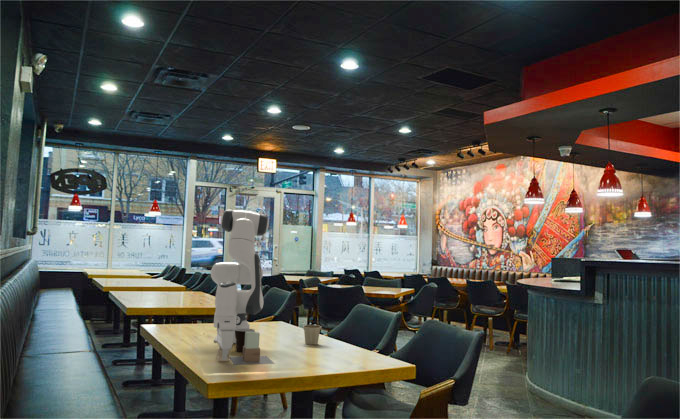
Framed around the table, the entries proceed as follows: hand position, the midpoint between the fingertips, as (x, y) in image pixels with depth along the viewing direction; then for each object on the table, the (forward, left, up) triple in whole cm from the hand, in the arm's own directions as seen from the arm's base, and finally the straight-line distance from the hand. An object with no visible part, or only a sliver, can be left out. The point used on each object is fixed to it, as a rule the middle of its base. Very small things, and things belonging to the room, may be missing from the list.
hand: (223, 357), depth 212 cm
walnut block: (+2, +11, -1) cm, 11 cm away
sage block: (+2, +11, +4) cm, 12 cm away
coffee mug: (-19, +12, -2) cm, 23 cm away
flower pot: (-37, +48, -2) cm, 61 cm away
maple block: (0, 0, -2) cm, 2 cm away
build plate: (+2, +11, -2) cm, 11 cm away
